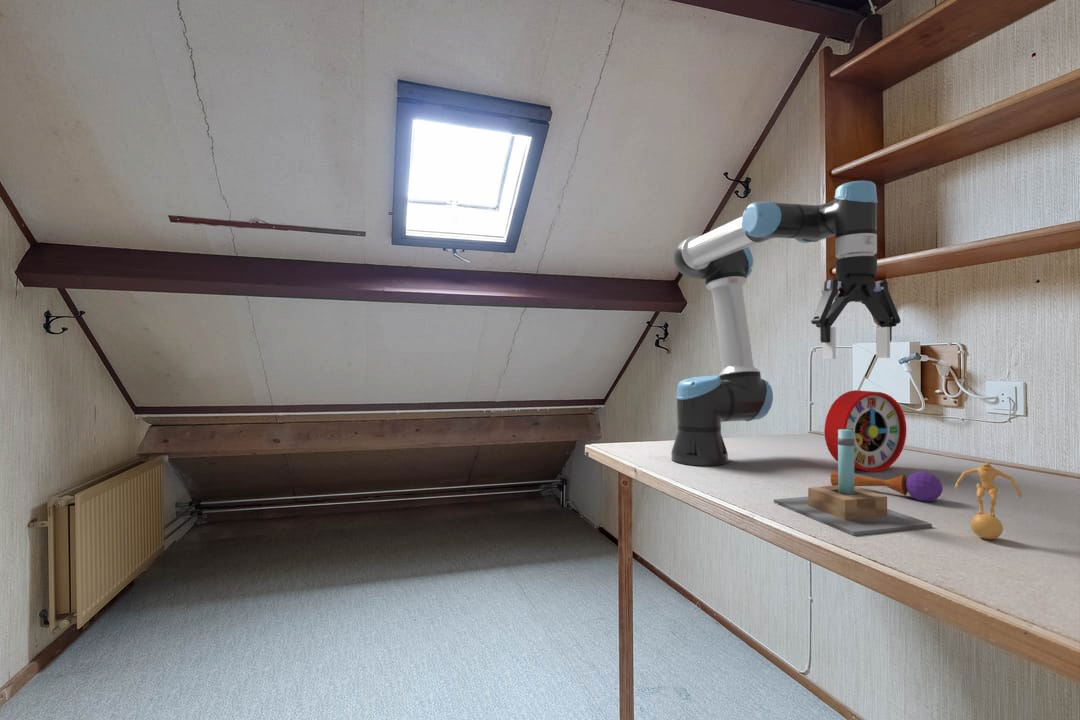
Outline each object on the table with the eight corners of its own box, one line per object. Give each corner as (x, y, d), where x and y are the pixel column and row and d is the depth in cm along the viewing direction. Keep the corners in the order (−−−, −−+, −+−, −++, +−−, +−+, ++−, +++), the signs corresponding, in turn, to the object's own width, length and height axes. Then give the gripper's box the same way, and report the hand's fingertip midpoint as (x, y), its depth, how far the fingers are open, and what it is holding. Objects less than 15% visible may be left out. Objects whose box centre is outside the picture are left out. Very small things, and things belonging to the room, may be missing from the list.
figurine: (952, 536, 86) (952, 462, 86) (956, 526, 91) (956, 457, 91) (1021, 548, 81) (1021, 469, 81) (1021, 537, 85) (1021, 463, 85)
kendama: (838, 466, 122) (944, 473, 107) (838, 492, 121) (946, 503, 106) (827, 464, 118) (936, 472, 103) (828, 492, 117) (938, 503, 102)
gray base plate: (773, 502, 107) (773, 482, 106) (840, 496, 110) (840, 476, 110) (853, 535, 87) (853, 510, 87) (931, 527, 91) (931, 503, 91)
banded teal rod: (834, 509, 100) (834, 429, 99) (846, 508, 100) (846, 429, 100) (845, 513, 97) (845, 431, 97) (858, 512, 98) (858, 431, 97)
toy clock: (843, 475, 129) (843, 393, 128) (824, 470, 134) (824, 391, 134) (906, 469, 134) (906, 390, 134) (885, 464, 140) (885, 389, 140)
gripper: (818, 252, 105) (819, 359, 105) (920, 255, 111) (920, 357, 111) (792, 258, 112) (793, 358, 113) (889, 262, 118) (889, 357, 118)
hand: (856, 358), depth 112 cm, fingers open, 13 cm apart
